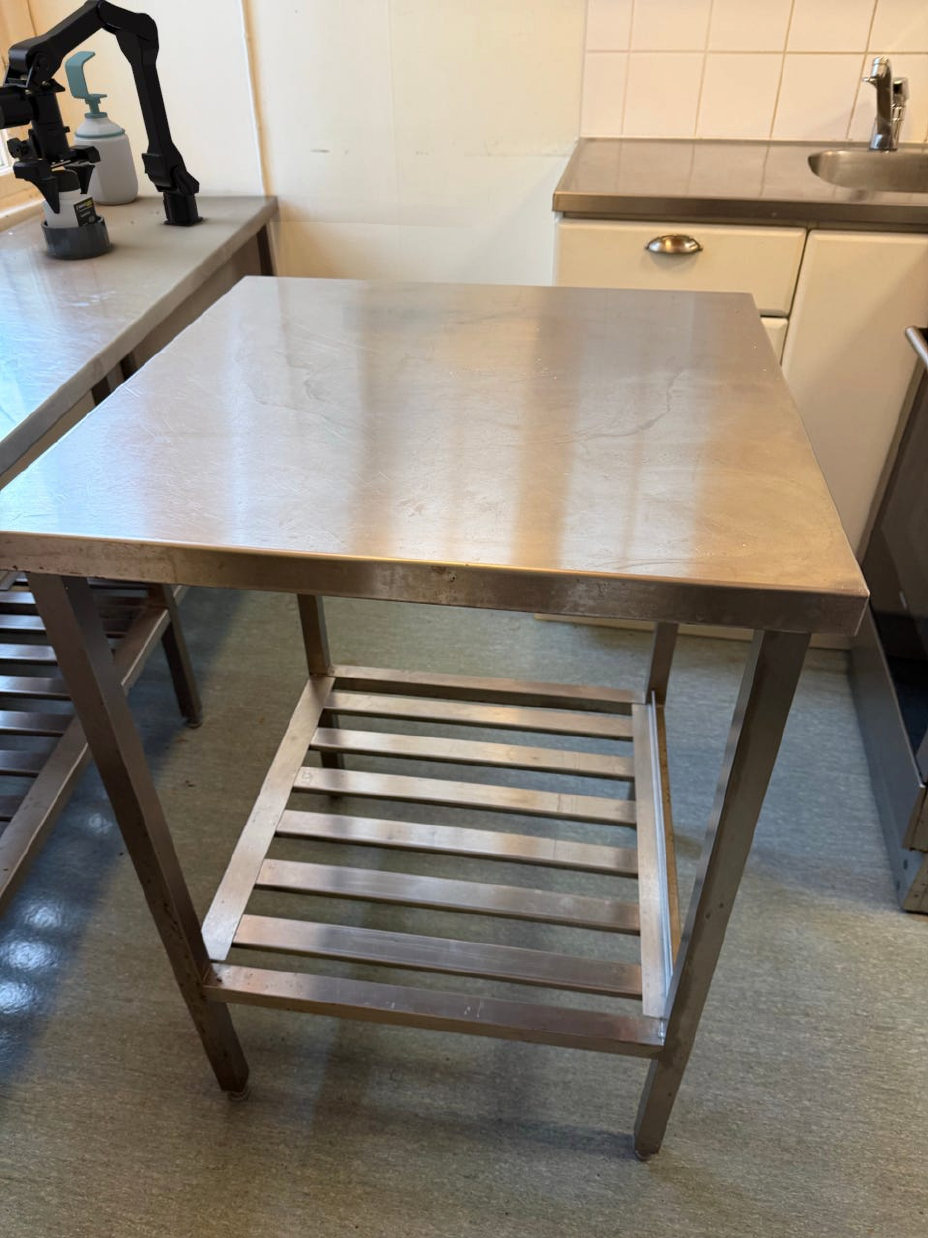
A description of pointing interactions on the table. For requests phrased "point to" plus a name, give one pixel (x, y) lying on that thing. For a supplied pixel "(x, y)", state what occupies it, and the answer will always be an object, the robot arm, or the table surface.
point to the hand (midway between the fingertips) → (70, 208)
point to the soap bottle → (102, 141)
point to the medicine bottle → (70, 203)
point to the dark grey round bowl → (77, 240)
